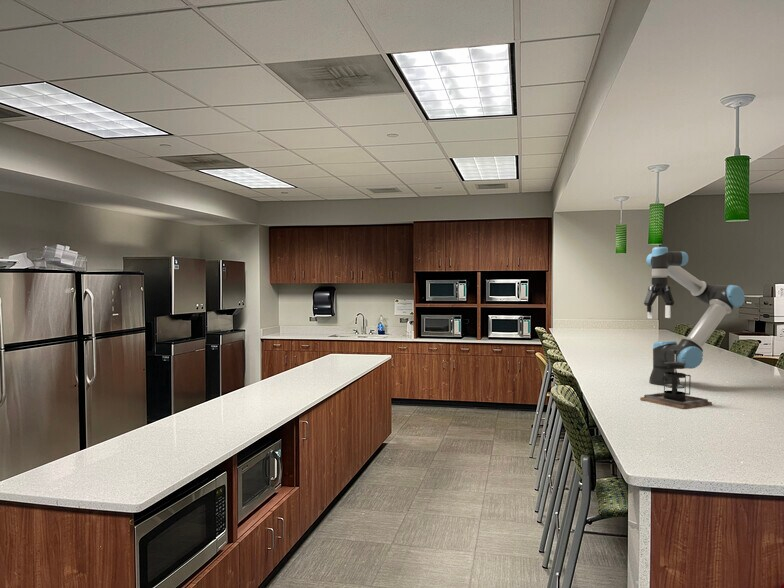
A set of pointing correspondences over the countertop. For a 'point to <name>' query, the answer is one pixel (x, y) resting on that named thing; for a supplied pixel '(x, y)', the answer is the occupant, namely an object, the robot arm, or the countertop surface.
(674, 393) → the french press
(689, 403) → the serving board
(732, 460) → the countertop surface
